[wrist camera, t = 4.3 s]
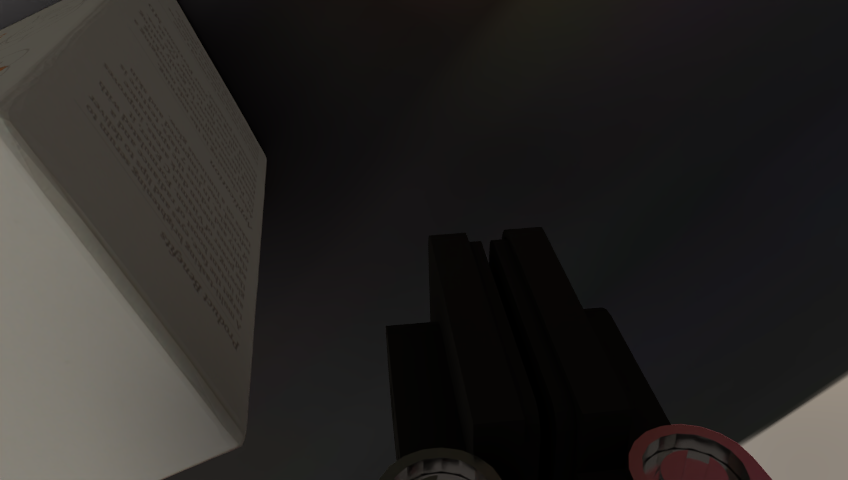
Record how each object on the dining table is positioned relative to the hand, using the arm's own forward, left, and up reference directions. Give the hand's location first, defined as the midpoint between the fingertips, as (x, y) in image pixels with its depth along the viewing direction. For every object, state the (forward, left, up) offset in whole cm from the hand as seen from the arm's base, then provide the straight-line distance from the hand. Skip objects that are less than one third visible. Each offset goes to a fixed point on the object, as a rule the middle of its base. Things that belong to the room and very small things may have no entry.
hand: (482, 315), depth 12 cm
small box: (+9, 0, -9) cm, 13 cm away
